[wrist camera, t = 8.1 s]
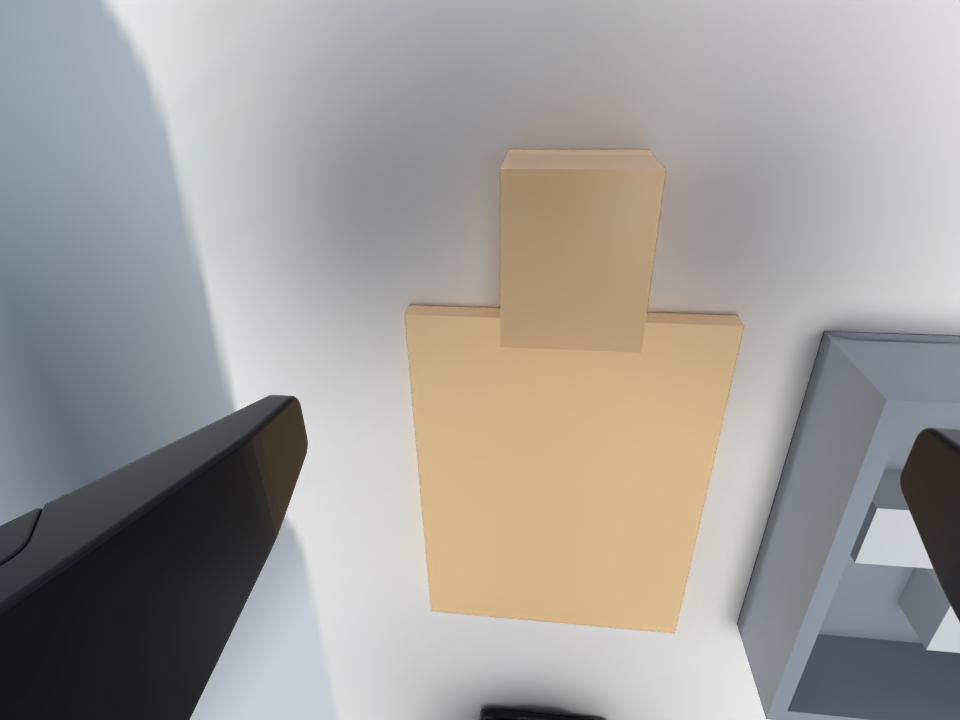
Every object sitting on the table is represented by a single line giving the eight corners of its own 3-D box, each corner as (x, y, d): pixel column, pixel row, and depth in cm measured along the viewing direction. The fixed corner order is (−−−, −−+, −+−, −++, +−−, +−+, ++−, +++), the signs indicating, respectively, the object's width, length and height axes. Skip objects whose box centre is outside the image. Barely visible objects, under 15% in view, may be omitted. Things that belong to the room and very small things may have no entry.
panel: (990, 646, 24) (1064, 750, 20) (737, 624, 25) (766, 718, 22) (1182, 343, 17) (1340, 420, 14) (824, 331, 18) (887, 399, 15)
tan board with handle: (671, 617, 26) (683, 678, 23) (434, 596, 27) (421, 652, 24) (773, 149, 16) (810, 170, 14) (397, 149, 17) (370, 168, 15)
